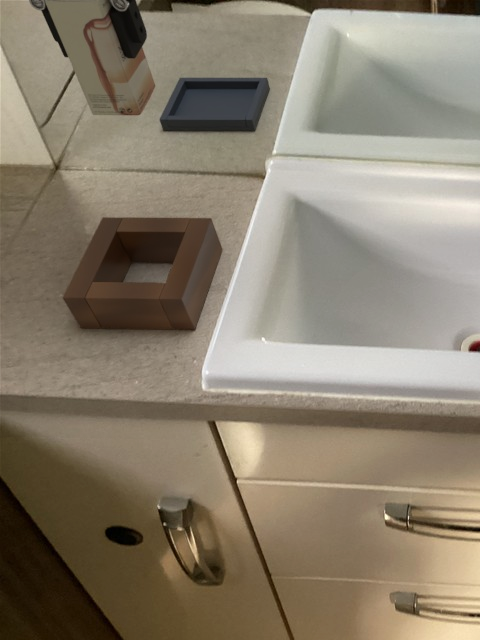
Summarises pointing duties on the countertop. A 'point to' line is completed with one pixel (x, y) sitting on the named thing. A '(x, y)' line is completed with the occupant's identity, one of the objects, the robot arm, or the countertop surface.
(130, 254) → the frame
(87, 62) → the printed product carton
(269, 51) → the countertop surface
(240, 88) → the tray
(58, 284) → the countertop surface
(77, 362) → the countertop surface
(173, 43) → the countertop surface
